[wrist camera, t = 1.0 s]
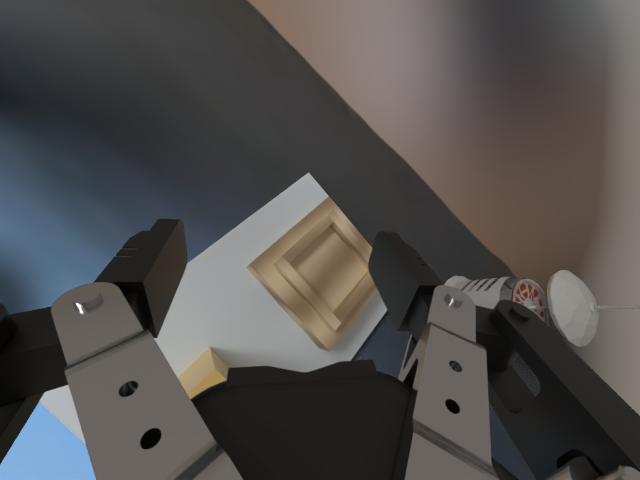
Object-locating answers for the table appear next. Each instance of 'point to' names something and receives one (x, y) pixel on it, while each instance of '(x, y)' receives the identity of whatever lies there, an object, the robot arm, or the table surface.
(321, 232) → the beech base slab
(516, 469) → the table surface
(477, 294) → the french press
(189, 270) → the white rectangular board
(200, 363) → the ochre pillar
